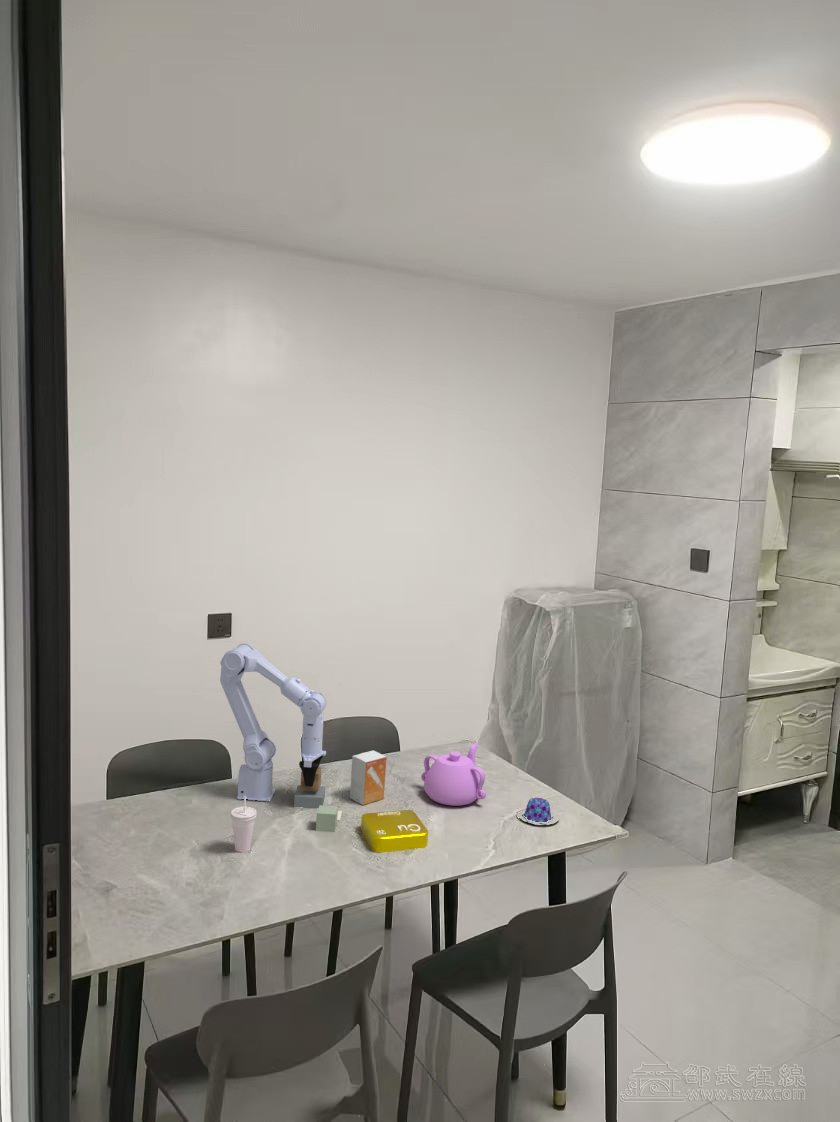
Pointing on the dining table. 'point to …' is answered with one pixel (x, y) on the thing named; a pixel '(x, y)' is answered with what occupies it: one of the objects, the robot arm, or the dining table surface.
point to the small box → (368, 777)
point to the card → (339, 815)
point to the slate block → (309, 798)
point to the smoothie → (243, 826)
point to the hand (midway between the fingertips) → (310, 782)
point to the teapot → (454, 778)
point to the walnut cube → (315, 785)
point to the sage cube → (326, 818)
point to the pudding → (538, 810)
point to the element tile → (394, 831)
